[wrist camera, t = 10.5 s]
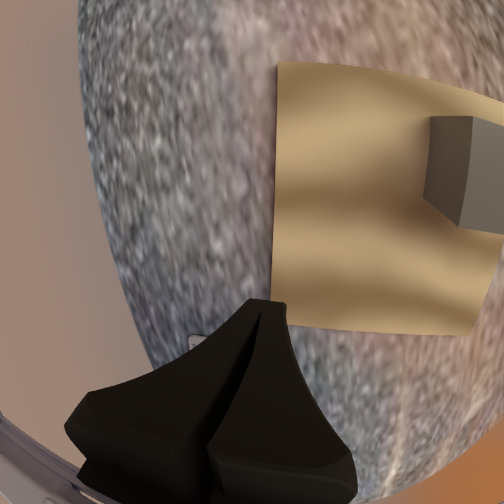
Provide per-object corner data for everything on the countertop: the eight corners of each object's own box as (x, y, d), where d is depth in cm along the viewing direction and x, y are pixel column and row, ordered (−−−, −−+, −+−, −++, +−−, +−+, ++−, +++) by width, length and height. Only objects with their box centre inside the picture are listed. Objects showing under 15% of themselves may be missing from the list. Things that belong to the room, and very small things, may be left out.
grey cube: (486, 209, 16) (530, 240, 11) (422, 197, 17) (458, 227, 12) (496, 134, 13) (546, 144, 8) (431, 116, 14) (473, 116, 9)
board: (466, 329, 20) (469, 335, 20) (270, 316, 23) (269, 322, 23) (515, 110, 13) (521, 110, 12) (279, 64, 16) (277, 61, 15)
